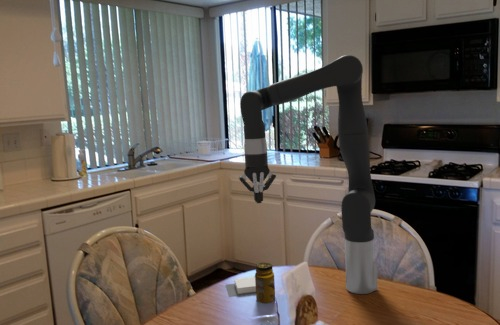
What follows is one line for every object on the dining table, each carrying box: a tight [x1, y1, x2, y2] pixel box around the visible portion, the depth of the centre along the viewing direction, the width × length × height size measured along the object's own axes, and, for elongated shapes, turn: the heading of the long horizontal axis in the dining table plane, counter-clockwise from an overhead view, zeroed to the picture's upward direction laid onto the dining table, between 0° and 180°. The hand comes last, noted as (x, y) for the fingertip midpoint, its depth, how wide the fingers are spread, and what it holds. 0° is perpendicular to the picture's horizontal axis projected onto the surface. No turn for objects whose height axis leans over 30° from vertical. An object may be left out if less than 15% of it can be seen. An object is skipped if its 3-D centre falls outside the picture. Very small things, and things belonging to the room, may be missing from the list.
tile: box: [233, 275, 256, 294], centre depth 156 cm, size 2×8×8 cm
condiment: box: [254, 262, 276, 304], centre depth 146 cm, size 7×8×12 cm
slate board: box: [225, 283, 256, 298], centre depth 156 cm, size 13×10×1 cm
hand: (258, 202), depth 156 cm, fingers closed
